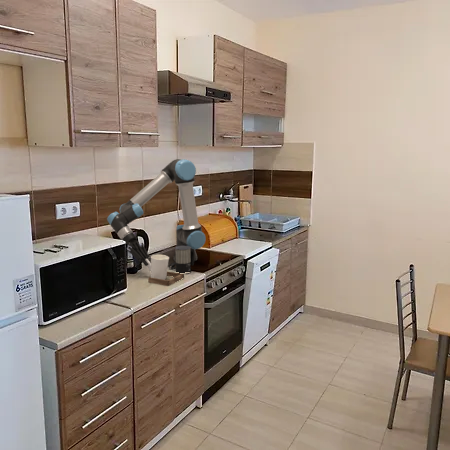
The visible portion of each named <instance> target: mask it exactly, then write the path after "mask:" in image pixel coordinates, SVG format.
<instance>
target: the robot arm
mask: <svg viewBox="0 0 450 450" xmlns="http://www.w3.org/2000/svg"><path fill="white" fill-rule="evenodd" d="M196 173H197V168H196V166H195V164H194V162H192V161H191V160H189V159H183V158H182V159H177V158H176V159H174V160H171V161H170V162H169V163H168V164H167V165H166V166H165V167H164V168H163V169H161V170H160V173H159V174H158V175H157V176H156V177H155V178H153V179H152V180H151V181H150V182H149V183H148V184H147V185H145V186H144V187H143V188H142V189H141V190H140V191H138V192H137V193H136V194H135V195H133V197H131V199H129V200H128V201H127V202H126V203H123V204H121V205H120V207H119V212H118V211H114V212H112V213H110V214H109V215H108V216H107V218H106V220H107V222H108V223H109V225H110V226H111V227H112V229H113V230H114V232H115V234H117V236H118V237H119V239H121V240H124V241H126V244H127V247H126V249H127V250H126V251H127V252H128V253H129V254H130V255H132V256H133V257H134V259H136V261H138V262H139V263H141V264H143V265H144V266H145V267H146V268H147V269H148V271H149V272H151V260H149V257H150V255H149V253H148V251H147V249H146V247H145V245H144V242H141V243H140V242H139V241H138V240H137V239H138V238H137V236H136V235H135V233H134V232H133V230H132V229H131V228H130V226H129V224H131V223H132V222H134V221H136V220H137V219H138V218H140V217H142V216H143V215H144V210H143V208H142V207H143V206H144V205H145V204H146V203H148V202H149V201H150V200H151V199H152V198H153V197H154V196H156V194H158V193H159V192H160V191H161V190H162V189H164V188H165V187H166V186H167V185H168V184H172V183H173V182H175V183H174V184H175V185H176V186H178V194H179V199H180V205H181V213H182V219H183V224H177V225H176V229H175V232H176V234H175V240H176V243H175V244H176V246H175V247H177V246H190V247H191V248H192V249H194V262H197V260H198V255H197V252H196V250H198V249H201V248H203V246H204V245H205V244H206V234H205V233H204V232H203V229H202V225H201V224H200V223H199V218H198V213H197V212H198V210H197V205H196V198H195V192H194V185H193V184H194V183H195V182H196V181H195V177H196ZM173 261H174V262H176V250H175V251H174V255H173Z"/></svg>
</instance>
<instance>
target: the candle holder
mask: <svg viewBox="0 0 450 450" xmlns="http://www.w3.org/2000/svg"><path fill="white" fill-rule="evenodd" d="M169 260H170V256H168V255H165V254H152V255H151V256H150V262H151V271H150V277H151V278H157V279H163V280H167V271H168V269H169Z"/></svg>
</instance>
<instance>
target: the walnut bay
mask: <svg viewBox="0 0 450 450" xmlns="http://www.w3.org/2000/svg"><path fill="white" fill-rule="evenodd" d="M167 276H173V277H174V278H173V277H171V278H170V279H165V280H163V279H157V278H151V276H149V277H147V280H148V281H147V283H150V284H155V285H161V286H166V287H169V286H171V285H174V284H175V282H176V283H178V282H180V281H181V279H182V278H184V279H185V274H180V273H175V272H173V271H168V270H167ZM167 276H166V277H167ZM179 280H180V281H179ZM182 280H183V279H182ZM177 281H178V282H177Z"/></svg>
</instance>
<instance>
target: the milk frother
mask: <svg viewBox="0 0 450 450" xmlns="http://www.w3.org/2000/svg"><path fill="white" fill-rule="evenodd" d="M175 251H176V261H174V262H172V263H170V264H168V269H169V268H171V269H170V270H173V269H175V271H176V272H179V273H185V272H191V273H192V267H191V266H194V265H195V261H194V249H192V248H191V247H190V246H177V247H176V246H175Z"/></svg>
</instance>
